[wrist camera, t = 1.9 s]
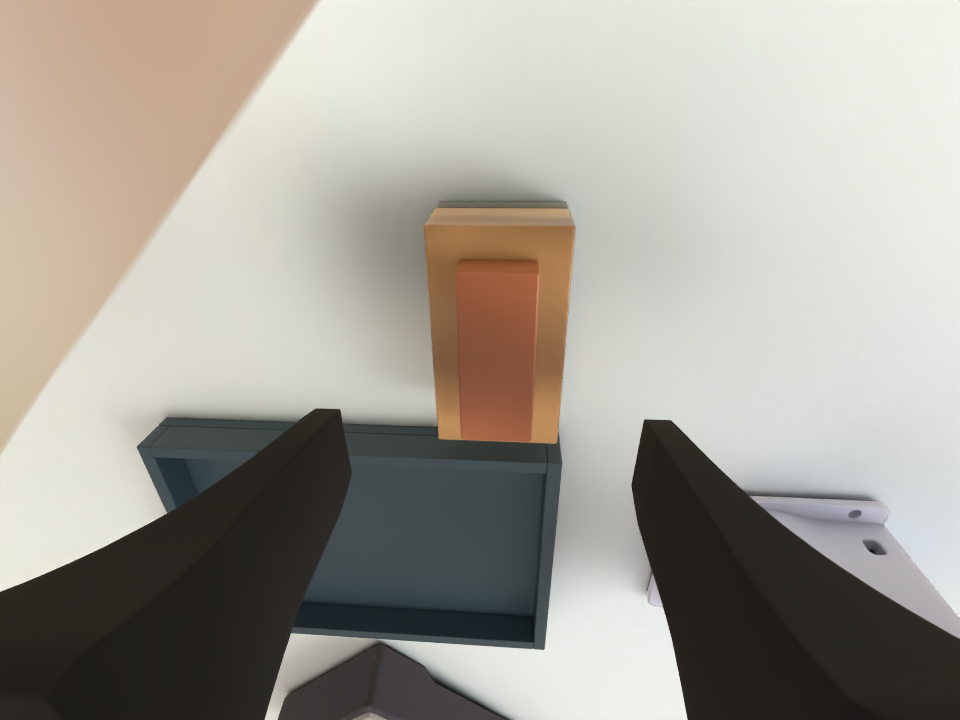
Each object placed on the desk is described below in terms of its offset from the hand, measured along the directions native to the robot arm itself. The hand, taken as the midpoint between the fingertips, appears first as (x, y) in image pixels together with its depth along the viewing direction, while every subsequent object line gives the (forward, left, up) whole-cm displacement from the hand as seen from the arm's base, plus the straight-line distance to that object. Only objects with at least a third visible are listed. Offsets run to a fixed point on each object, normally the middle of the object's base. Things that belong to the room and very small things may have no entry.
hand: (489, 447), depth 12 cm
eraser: (0, 0, -8) cm, 8 cm away
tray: (+6, +13, -8) cm, 16 cm away
